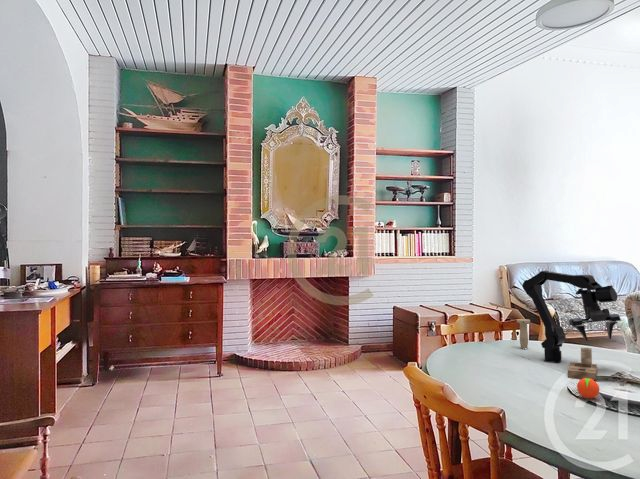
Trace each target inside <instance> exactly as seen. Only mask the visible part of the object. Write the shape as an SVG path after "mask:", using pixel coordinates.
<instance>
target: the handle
mask: <svg viewBox="0 0 640 479" xmlns="http://www.w3.org/2000/svg"><path fill="white" fill-rule="evenodd" d="M516 323H518V324H519V345H520V348H521V347H522V348H527V349H529V348H528V345H529V334H528V324H530V323H531V320H530V319H529V318H528V319H526V318H517V319H516Z"/></svg>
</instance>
